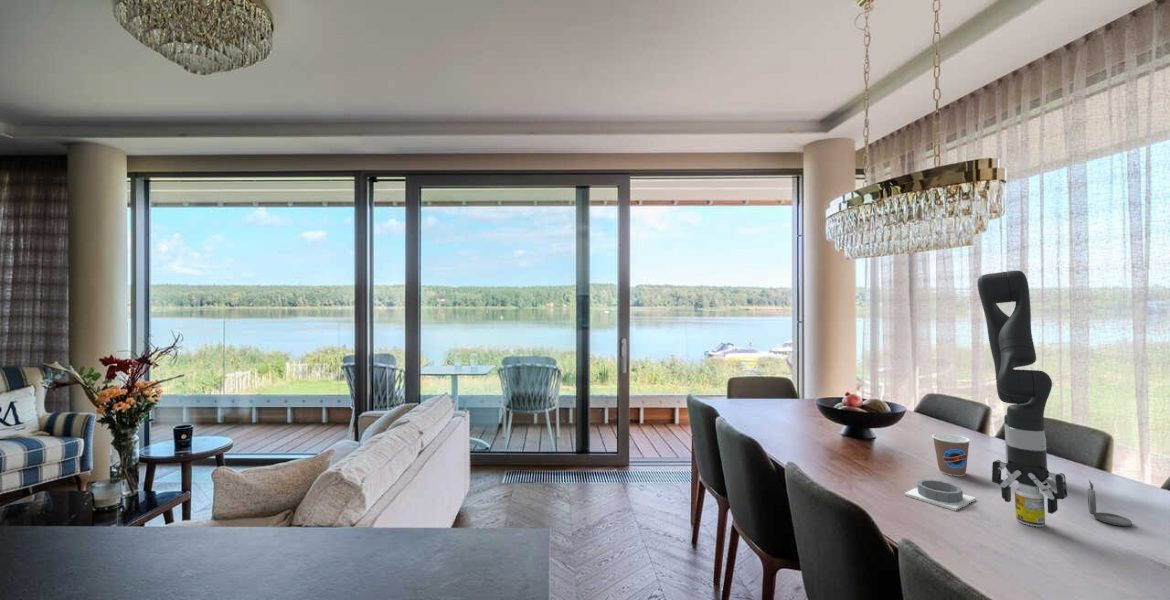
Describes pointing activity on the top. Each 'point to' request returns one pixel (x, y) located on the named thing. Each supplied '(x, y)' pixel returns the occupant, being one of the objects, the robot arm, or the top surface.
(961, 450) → the coffee cup
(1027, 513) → the supplement bottle
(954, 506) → the ring holder
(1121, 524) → the pocket watch
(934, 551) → the top surface
